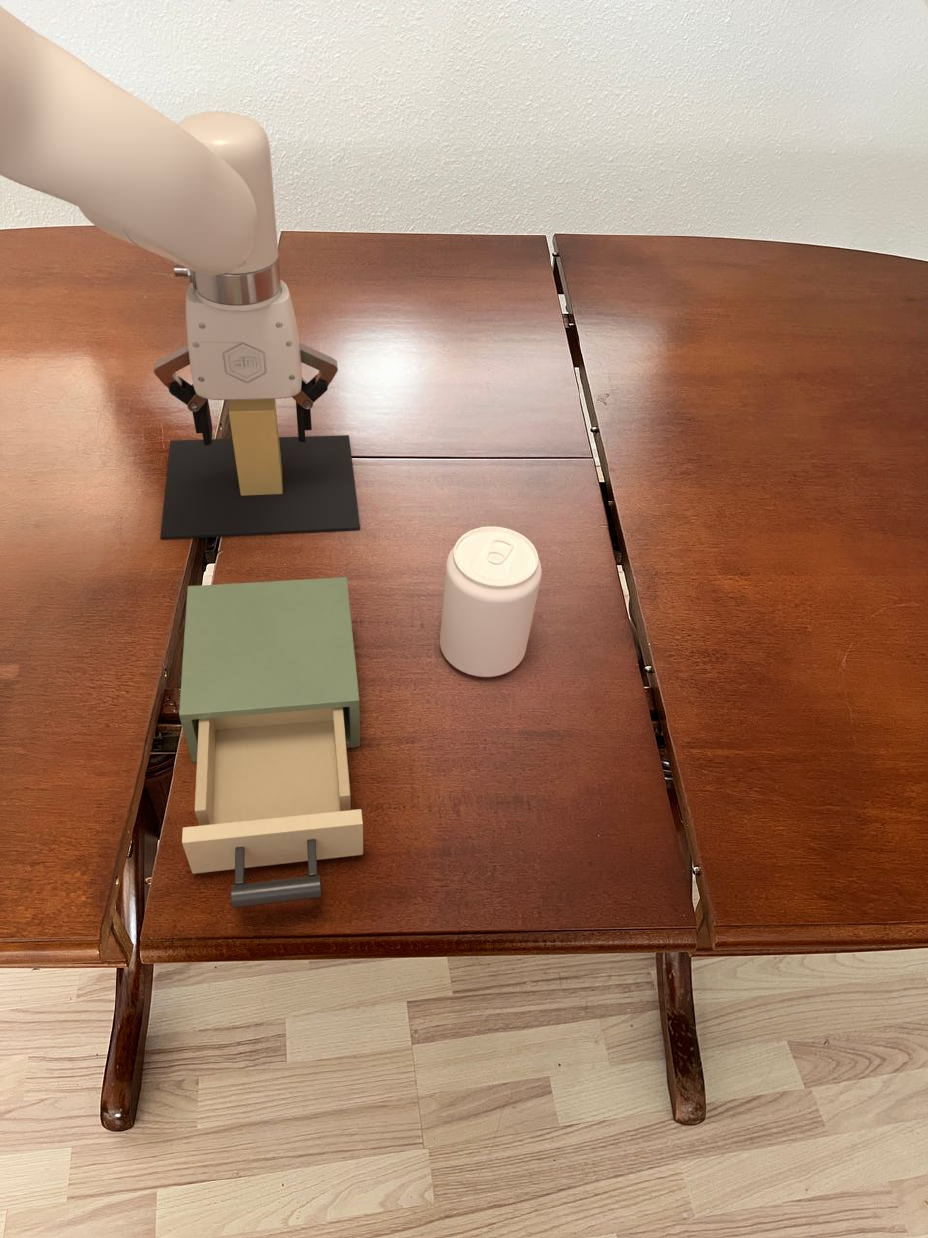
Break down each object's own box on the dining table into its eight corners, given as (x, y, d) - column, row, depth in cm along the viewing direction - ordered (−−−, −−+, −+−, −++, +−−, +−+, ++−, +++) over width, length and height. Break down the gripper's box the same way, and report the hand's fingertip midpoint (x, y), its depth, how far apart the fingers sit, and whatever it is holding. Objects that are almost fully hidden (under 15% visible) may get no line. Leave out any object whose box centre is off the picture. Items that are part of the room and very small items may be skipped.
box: (240, 495, 91) (228, 411, 83) (241, 470, 94) (229, 386, 86) (282, 494, 92) (274, 410, 84) (281, 468, 95) (274, 385, 87)
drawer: (368, 909, 62) (368, 880, 58) (189, 931, 60) (178, 902, 56) (350, 719, 73) (349, 684, 69) (199, 732, 70) (190, 697, 67)
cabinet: (360, 747, 72) (359, 700, 67) (192, 762, 70) (178, 715, 65) (348, 625, 81) (346, 576, 76) (198, 635, 78) (187, 585, 74)
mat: (160, 539, 86) (160, 536, 86) (170, 443, 97) (170, 440, 96) (360, 530, 90) (360, 527, 89) (348, 437, 100) (348, 434, 100)
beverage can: (426, 664, 78) (433, 571, 69) (456, 605, 84) (467, 511, 75) (509, 693, 77) (527, 602, 68) (535, 630, 82) (555, 538, 73)
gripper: (129, 295, 72) (165, 461, 84) (338, 295, 75) (342, 455, 87) (137, 254, 77) (170, 416, 89) (333, 255, 79) (337, 412, 92)
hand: (255, 435), depth 88 cm, fingers open, 9 cm apart
